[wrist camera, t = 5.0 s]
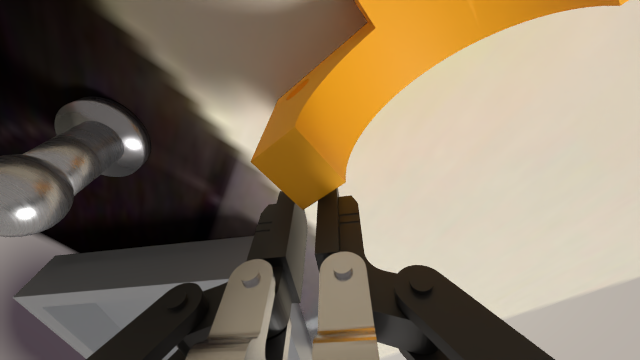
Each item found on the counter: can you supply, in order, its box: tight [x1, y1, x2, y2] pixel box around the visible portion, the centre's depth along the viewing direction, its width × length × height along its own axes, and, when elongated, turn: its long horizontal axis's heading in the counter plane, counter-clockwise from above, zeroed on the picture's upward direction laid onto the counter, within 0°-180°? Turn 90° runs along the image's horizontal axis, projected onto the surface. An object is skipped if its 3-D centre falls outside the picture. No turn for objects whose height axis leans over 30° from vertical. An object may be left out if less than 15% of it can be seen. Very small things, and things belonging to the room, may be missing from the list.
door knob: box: [0, 96, 151, 237], centre depth 13 cm, size 4×4×7 cm
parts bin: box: [13, 236, 313, 360], centre depth 24 cm, size 17×17×4 cm
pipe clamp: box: [251, 0, 628, 210], centre depth 10 cm, size 12×4×6 cm, turn 129°
